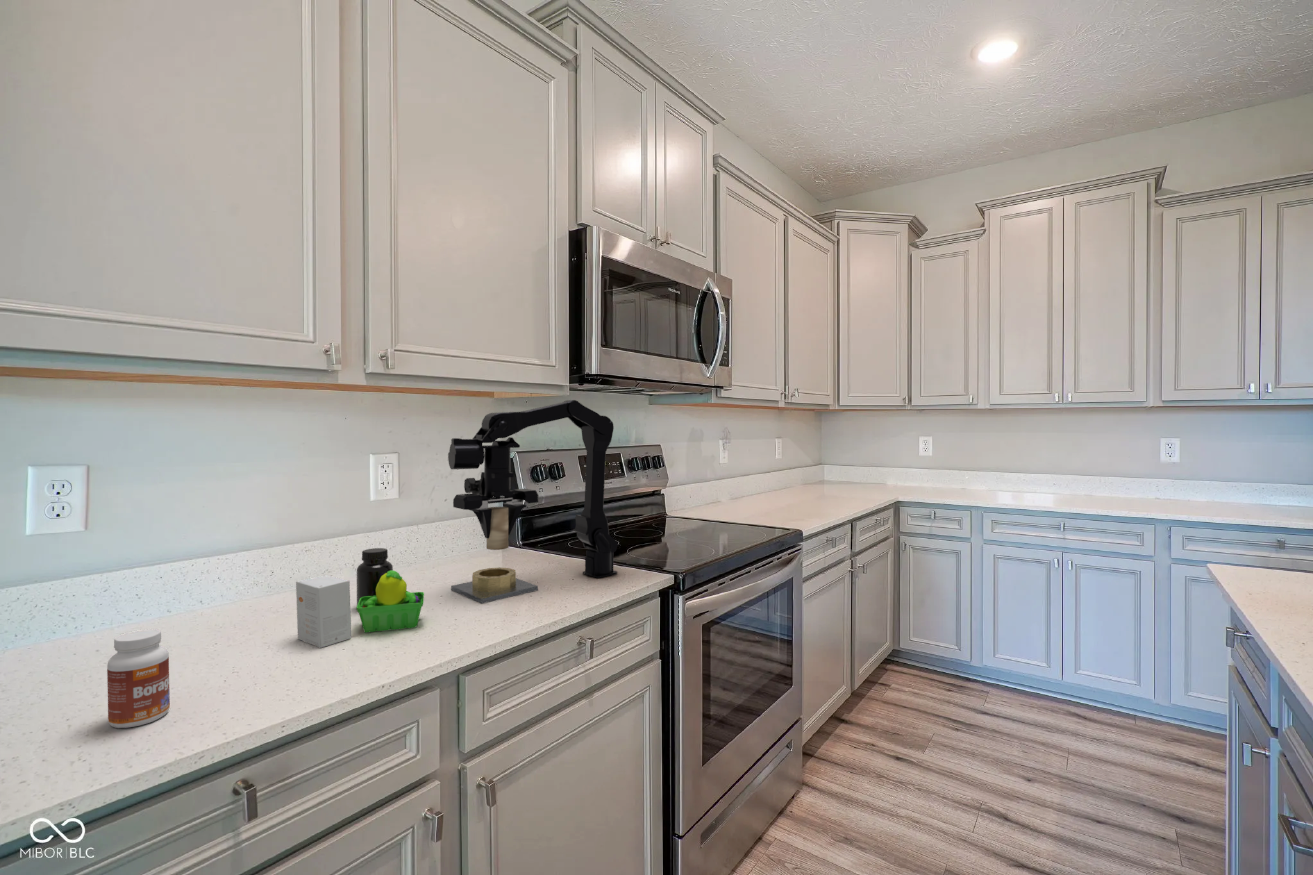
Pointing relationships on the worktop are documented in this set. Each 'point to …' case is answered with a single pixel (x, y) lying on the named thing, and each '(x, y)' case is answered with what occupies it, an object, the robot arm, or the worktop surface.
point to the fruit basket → (390, 605)
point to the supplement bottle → (371, 571)
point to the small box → (323, 610)
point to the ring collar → (493, 585)
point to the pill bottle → (138, 679)
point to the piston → (498, 529)
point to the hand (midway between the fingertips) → (497, 536)
